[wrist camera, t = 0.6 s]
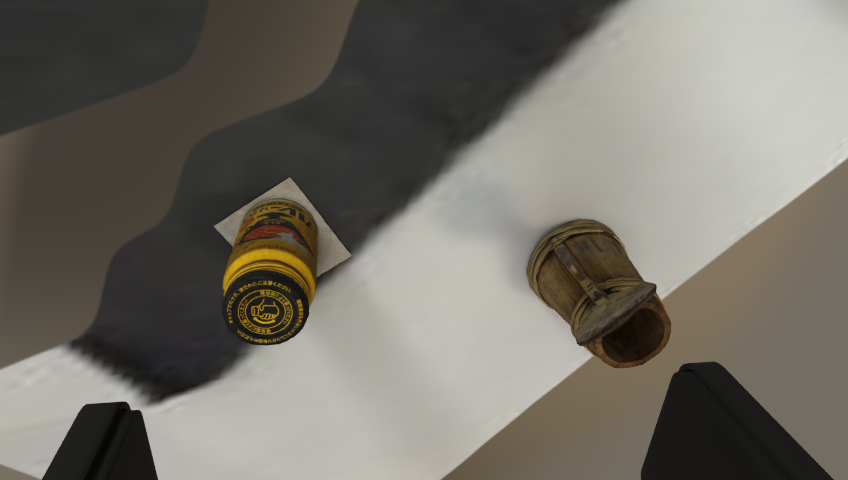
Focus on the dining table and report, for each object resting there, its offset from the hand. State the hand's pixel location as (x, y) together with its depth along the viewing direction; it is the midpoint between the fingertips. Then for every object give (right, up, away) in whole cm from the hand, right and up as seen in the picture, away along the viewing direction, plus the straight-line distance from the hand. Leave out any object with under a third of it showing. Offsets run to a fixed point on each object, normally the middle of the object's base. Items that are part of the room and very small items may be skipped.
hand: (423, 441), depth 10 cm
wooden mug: (+12, +3, +40) cm, 41 cm away
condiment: (-11, +4, +35) cm, 37 cm away
